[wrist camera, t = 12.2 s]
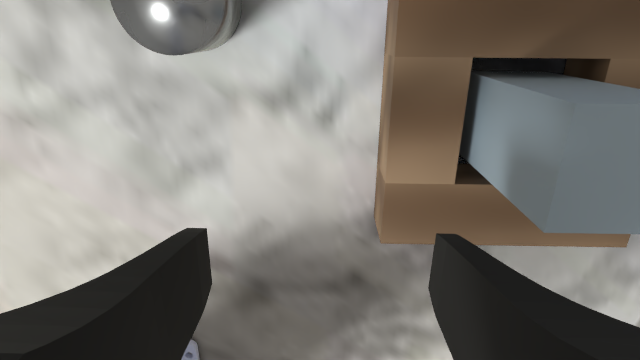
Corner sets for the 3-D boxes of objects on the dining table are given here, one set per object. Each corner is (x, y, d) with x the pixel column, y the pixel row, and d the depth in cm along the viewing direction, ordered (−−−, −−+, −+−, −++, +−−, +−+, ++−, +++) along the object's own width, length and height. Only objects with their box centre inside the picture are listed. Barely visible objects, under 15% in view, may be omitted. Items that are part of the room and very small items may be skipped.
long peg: (530, 150, 20) (674, 234, 12) (454, 149, 20) (543, 232, 12) (547, 71, 19) (724, 104, 10) (465, 71, 19) (575, 103, 10)
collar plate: (587, 219, 22) (626, 247, 19) (373, 215, 22) (380, 243, 19) (656, -20, 17) (720, -30, 14) (389, -22, 17) (401, -32, 15)
